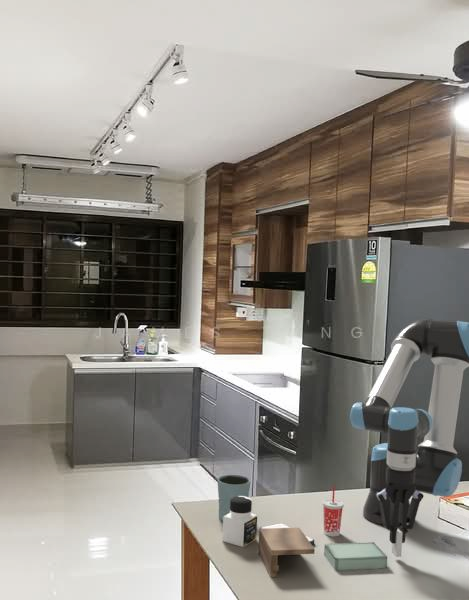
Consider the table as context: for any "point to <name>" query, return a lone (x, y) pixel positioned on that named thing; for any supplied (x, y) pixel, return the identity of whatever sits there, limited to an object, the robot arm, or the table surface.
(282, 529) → the walnut shelf
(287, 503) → the table surface
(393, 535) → the robot arm
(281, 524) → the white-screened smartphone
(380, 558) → the bevelled sage-green slab
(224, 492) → the teal tapered cup
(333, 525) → the beverage cup
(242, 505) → the medicine bottle
